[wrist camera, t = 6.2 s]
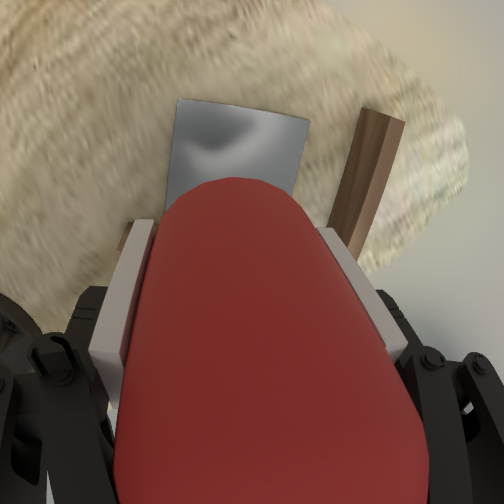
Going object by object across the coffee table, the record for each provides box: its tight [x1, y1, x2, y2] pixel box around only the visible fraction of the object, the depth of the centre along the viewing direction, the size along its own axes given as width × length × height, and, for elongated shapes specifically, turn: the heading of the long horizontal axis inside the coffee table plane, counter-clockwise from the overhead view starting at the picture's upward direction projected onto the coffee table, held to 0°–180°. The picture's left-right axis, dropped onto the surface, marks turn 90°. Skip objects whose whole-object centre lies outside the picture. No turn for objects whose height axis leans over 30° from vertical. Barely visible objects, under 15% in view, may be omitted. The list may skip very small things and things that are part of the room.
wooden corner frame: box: [116, 108, 405, 263], centre depth 24 cm, size 21×16×5 cm
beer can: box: [112, 177, 429, 504], centre depth 8 cm, size 7×7×12 cm
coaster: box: [165, 99, 310, 212], centre depth 26 cm, size 11×11×1 cm
